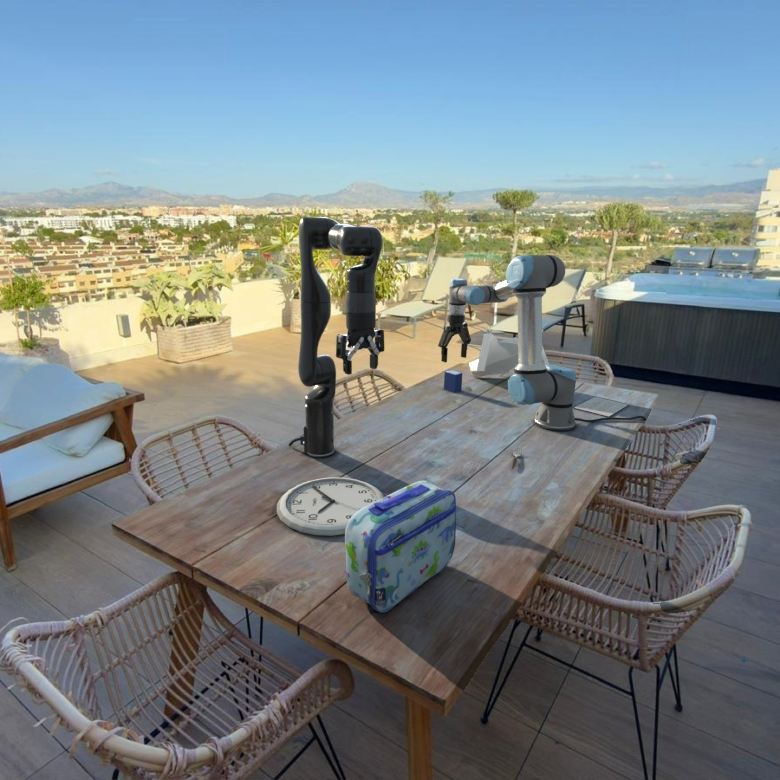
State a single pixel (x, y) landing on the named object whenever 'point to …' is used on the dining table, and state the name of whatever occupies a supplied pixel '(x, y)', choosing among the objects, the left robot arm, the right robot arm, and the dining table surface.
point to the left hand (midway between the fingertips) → (360, 371)
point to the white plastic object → (497, 356)
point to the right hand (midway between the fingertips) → (454, 359)
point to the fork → (516, 456)
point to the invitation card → (601, 406)
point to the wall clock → (325, 504)
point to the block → (453, 381)
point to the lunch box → (399, 543)
